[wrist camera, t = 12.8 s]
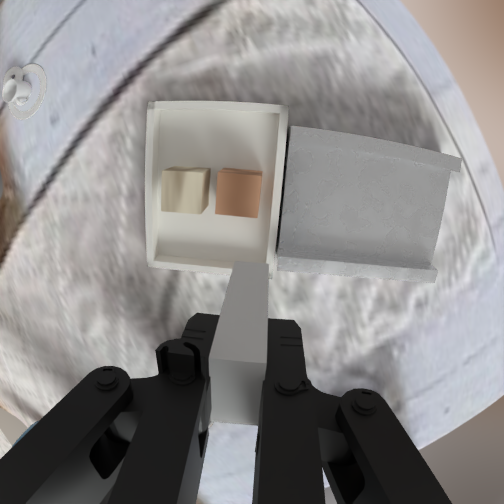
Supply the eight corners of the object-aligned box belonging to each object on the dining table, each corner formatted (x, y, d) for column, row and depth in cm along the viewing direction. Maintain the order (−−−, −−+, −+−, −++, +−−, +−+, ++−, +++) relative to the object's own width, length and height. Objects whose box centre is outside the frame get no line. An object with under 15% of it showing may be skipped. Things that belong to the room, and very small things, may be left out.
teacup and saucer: (7, 77, 29) (-12, 76, 25) (44, 49, 28) (25, 45, 24) (14, 129, 32) (-5, 131, 28) (52, 104, 31) (33, 103, 27)
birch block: (208, 205, 33) (172, 202, 33) (210, 168, 32) (174, 166, 32) (200, 214, 30) (161, 211, 30) (202, 172, 28) (161, 170, 28)
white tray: (154, 258, 37) (147, 266, 34) (156, 103, 30) (147, 101, 28) (272, 269, 36) (272, 279, 34) (287, 107, 30) (289, 105, 27)
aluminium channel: (276, 253, 36) (277, 270, 31) (289, 126, 31) (291, 125, 26) (419, 266, 35) (434, 282, 31) (441, 154, 30) (461, 158, 26)
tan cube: (221, 204, 33) (214, 214, 30) (223, 167, 32) (217, 172, 28) (258, 208, 33) (257, 218, 30) (262, 171, 32) (261, 176, 28)
